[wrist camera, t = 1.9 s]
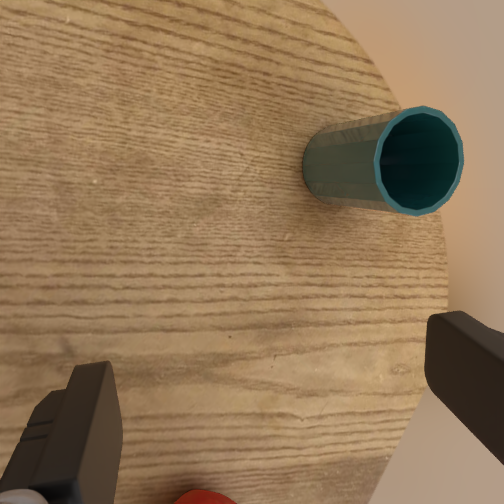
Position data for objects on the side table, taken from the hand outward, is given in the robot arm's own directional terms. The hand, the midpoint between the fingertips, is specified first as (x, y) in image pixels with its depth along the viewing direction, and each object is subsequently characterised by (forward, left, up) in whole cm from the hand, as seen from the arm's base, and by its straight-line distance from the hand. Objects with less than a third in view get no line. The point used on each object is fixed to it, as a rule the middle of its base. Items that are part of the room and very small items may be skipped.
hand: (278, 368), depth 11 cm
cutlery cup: (+3, +15, -23) cm, 27 cm away
